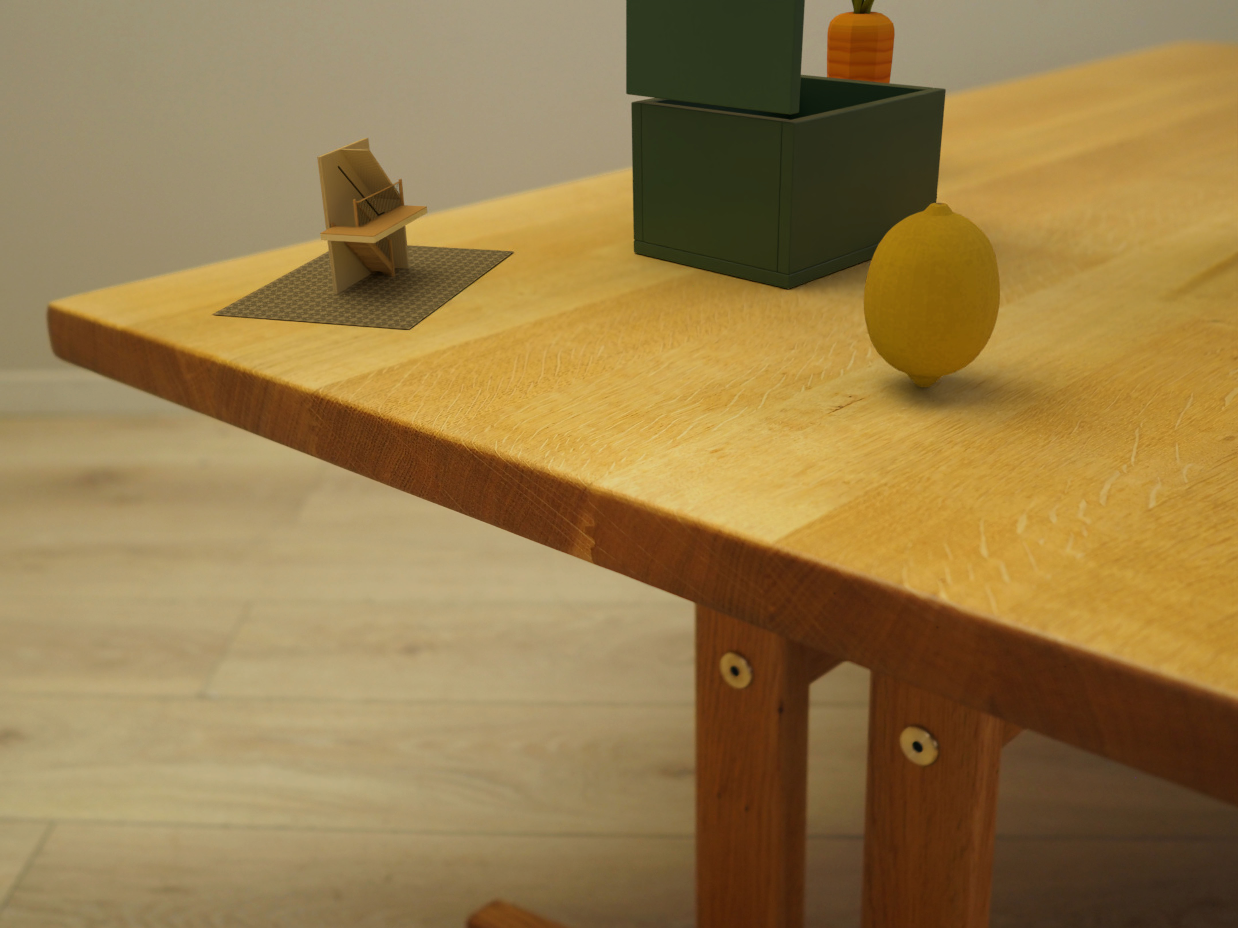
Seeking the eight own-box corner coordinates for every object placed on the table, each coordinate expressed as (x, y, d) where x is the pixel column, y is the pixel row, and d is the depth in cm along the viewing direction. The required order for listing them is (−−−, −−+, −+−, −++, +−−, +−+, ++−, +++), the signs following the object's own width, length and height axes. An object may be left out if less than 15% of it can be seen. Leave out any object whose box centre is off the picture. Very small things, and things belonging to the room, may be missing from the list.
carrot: (831, 163, 98) (841, -44, 92) (893, 168, 96) (908, -44, 90) (810, 176, 94) (820, -40, 88) (876, 181, 92) (890, -40, 86)
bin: (783, 208, 85) (787, 73, 81) (933, 236, 77) (946, 88, 74) (633, 253, 75) (630, 102, 72) (788, 289, 68) (794, 123, 64)
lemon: (837, 394, 54) (847, 209, 50) (890, 357, 58) (902, 183, 55) (961, 420, 51) (981, 225, 48) (1008, 379, 55) (1029, 197, 52)
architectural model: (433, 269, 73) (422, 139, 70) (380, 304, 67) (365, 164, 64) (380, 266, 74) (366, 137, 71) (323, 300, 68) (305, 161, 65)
